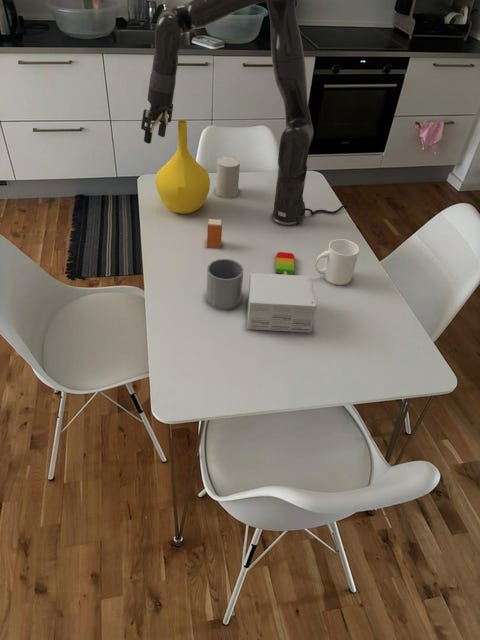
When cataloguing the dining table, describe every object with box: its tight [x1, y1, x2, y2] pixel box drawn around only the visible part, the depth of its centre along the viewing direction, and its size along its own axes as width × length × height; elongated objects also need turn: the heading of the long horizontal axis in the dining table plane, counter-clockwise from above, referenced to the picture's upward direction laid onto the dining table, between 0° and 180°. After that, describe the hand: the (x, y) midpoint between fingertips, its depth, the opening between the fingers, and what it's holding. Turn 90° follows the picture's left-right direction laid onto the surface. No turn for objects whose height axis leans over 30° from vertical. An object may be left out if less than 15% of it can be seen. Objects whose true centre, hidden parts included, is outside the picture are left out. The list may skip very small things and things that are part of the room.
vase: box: [155, 119, 211, 215], centre depth 168 cm, size 18×18×30 cm
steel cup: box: [206, 258, 244, 310], centre depth 137 cm, size 10×10×10 cm
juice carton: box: [206, 218, 223, 249], centre depth 158 cm, size 4×3×8 cm
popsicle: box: [275, 251, 296, 275], centre depth 152 cm, size 6×15×2 cm, turn 176°
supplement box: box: [246, 272, 317, 334], centre depth 133 cm, size 17×13×9 cm
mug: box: [314, 238, 360, 286], centre depth 148 cm, size 9×12×11 cm
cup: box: [215, 156, 241, 199], centre depth 184 cm, size 8×8×12 cm
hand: (154, 139), depth 161 cm, fingers open, 8 cm apart
